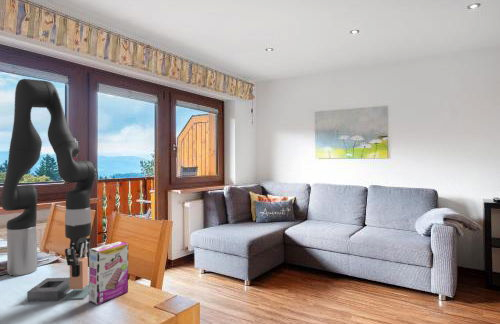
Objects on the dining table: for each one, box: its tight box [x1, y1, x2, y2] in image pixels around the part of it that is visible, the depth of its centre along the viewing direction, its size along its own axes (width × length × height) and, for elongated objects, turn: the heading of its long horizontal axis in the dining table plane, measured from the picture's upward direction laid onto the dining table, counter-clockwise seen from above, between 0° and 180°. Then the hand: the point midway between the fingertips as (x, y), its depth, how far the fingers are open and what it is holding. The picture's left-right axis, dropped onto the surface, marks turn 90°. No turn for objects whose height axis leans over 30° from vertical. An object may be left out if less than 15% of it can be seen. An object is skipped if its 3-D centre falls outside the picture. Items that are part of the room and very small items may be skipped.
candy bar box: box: [88, 241, 129, 306], centre depth 102 cm, size 11×5×16 cm, turn 149°
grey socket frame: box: [26, 277, 71, 303], centre depth 105 cm, size 11×9×3 cm
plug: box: [69, 256, 89, 290], centre depth 105 cm, size 4×4×9 cm
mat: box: [63, 284, 89, 301], centre depth 106 cm, size 10×6×1 cm, turn 5°
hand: (78, 273), depth 105 cm, fingers closed on plug, 4 cm apart
